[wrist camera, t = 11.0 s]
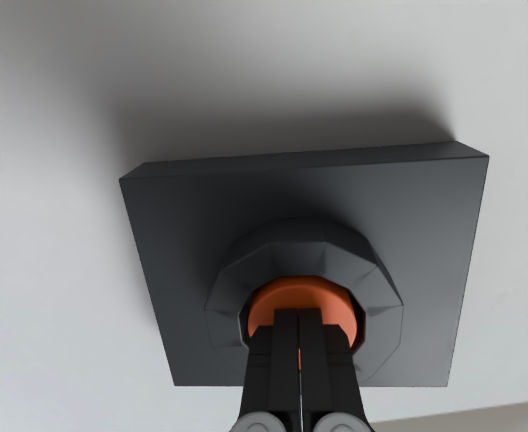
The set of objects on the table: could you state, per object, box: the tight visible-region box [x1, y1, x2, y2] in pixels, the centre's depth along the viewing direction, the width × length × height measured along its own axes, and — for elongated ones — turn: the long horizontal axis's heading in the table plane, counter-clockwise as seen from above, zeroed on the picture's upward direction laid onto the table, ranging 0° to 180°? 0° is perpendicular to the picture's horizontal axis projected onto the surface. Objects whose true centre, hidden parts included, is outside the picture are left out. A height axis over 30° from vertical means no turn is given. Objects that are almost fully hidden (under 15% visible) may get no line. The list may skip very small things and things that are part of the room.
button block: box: [119, 141, 489, 395], centre depth 13 cm, size 12×10×4 cm
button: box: [248, 275, 357, 369], centre depth 12 cm, size 4×4×2 cm
